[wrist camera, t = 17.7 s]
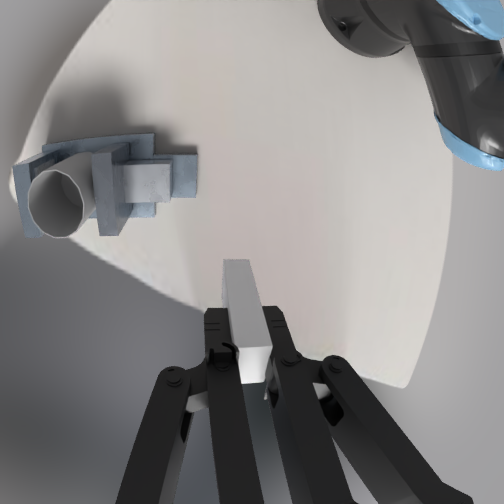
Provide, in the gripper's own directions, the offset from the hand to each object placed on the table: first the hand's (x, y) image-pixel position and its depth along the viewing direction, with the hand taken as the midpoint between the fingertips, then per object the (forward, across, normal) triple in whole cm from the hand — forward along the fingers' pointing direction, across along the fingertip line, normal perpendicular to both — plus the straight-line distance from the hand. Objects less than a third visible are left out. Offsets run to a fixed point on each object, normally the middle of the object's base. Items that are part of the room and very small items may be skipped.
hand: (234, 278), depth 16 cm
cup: (+23, -19, 0) cm, 30 cm away
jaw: (+23, -11, 0) cm, 25 cm away
